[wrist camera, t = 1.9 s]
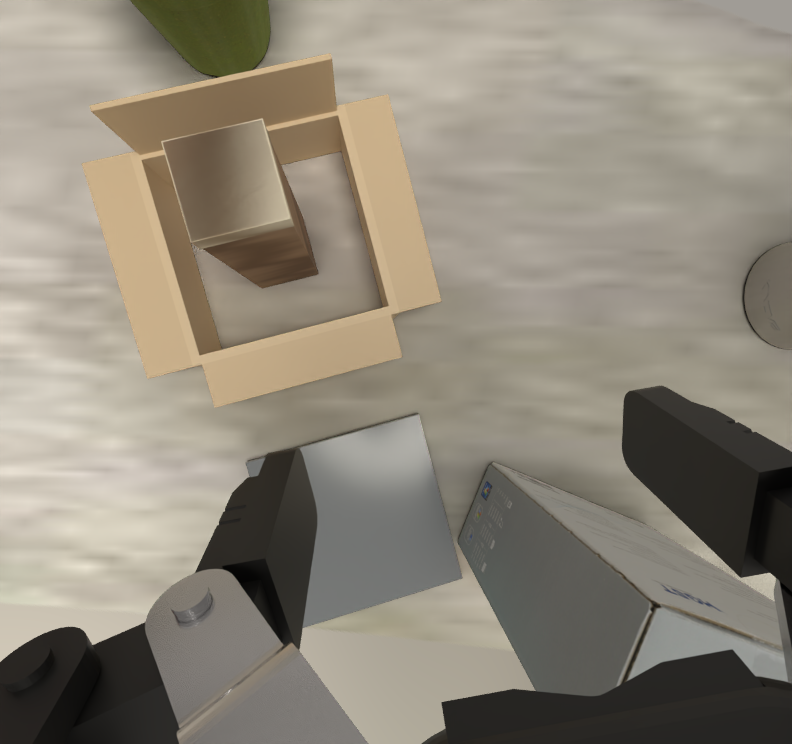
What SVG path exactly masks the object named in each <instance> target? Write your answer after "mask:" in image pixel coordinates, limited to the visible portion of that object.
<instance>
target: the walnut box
mask: <svg viewBox="0 0 792 744" xmlns="http://www.w3.org/2000/svg"><path fill="white" fill-rule="evenodd" d="M161 143H162V146H163V150H164V153H165V156H166V160H167V163H168V167H169V170H170V173H171V177H172V180H173V184H174V187H175V190H176V194H177V197H178V201H179V204H180V208H181V211H182V214H183V218H184V221H185V225H186V228H187V231H188V235H189V238H190V242H191V243H192V244H194V245H195V246H197V247H198V248H200V249H204V250H205V251H207V252H208V253H210V254H211V255H213V256H214V257H216V258H217V259H219V260H220V261H222V262H223V263H225V264H226V265H228V266H229V267H231V268H232V269H234V270H235V271H237V272H238V273H240V274H241V275H243V276H244V277H246V278H247V279H249V280H250V281H252V282H253V283H255V284H256V285H258V286H259V287H261V288H266V287H270V286H274V285H278V284H282V283H286V282H290V281H294V280H297V279H301V278H305V277H309V276H313V275H317V274H318V270H317V267H316V263H315V260H314V256H313V252H312V249H311V245H310V241H309V238H308V234H307V231H306V227H305V223H304V220H303V217H302V214H301V212H300V209H299V207H298V205H297V202H296V200H295V198H294V195H293V193H292V190H291V188H290V186H289V183H288V181H287V179H286V176H285V174H284V171H283V169H282V167H281V164H280V162H279V160H278V157H277V155H276V152H275V150H274V148H273V145H272V143H271V140H270V137H269V133H268V130H267V128H266V126H265V123H264V121H263V118H262V119H258V120H254V121H249V122H245V123H240V124H236V125H231V126H227V127H222V128H218V129H214V130H209V131H205V132H200V133H196V134H191V135H187V136H182V137H178V138H173V139H169V140H165V141H161Z"/></svg>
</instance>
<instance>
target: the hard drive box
mask: <svg viewBox="0 0 792 744" xmlns="http://www.w3.org/2000/svg"><path fill="white" fill-rule="evenodd" d="M458 544H459V546H460V548H461V550H462V552H463V554H464V556H465V557H466V559H467V561H468V563H469V565H470V567H471V569H472V571H473V573H474V575H475V577H476V579H477V581H478V582H479V584H480V586H481V588H482V590H483V592H484V594H485V596H486V598H487V599H488V601H489V603H490V605H491V607H492V609H493V611H494V613H495V614H496V616H497V618H498V620H499V622H500V624H501V626H502V628H503V630H504V632H505V634H506V635H507V637H508V639H509V641H510V643H511V645H512V647H513V649H514V651H515V653H516V654H517V656H518V658H519V660H520V662H521V664H522V666H523V668H524V669H525V671H526V673H527V675H528V677H529V679H530V681H531V683H532V685H533V687H534V688H535V690H536V691H539V692H550V693H560V694H571V695H582V696H598V695H602V694H604V693H606V692H608V691H610V690H612V689H614V688H615V687H617V686H619V685H621V684H623V683H624V682H626V681H628V680H630V679H632V678H634V677H635V676H637V675H639V674H641V673H643V672H644V671H646V670H648V669H650V668H652V667H653V666H655V665H657V664H659V663H661V662H665V661H670V660H676V659H681V658H687V657H692V656H698V655H703V654H709V653H714V652H720V651H725V650H730V649H733V650H734V651H735V653H736V654H737V655H738V656H739V657H740V659H741V660H742V661H743V662H744V663H745V664H746V666H747V667H748V668H749V669H750V670H751V672H752V673H753V674H754V675H755V676H761V677H766V678H771V679H777V680H782V681H786V682H788V678H787V671H786V665H785V659H784V653H783V647H782V641H781V635H780V629H779V623H778V616H777V610H776V604H775V602H774V601H772V600H771V599H769V598H767V597H766V596H764V595H762V594H761V593H759V592H757V591H756V590H754V589H752V588H751V587H749V586H747V585H746V584H744V583H742V582H741V581H739V580H738V579H736V578H734V577H733V576H731V575H729V574H728V573H726V572H724V571H723V570H721V569H719V568H718V567H716V566H714V565H713V564H711V563H709V562H708V561H706V560H704V559H703V558H701V557H699V556H698V555H696V554H694V553H693V552H691V551H689V550H688V549H686V548H684V547H683V546H681V545H679V544H678V543H676V542H675V541H673V540H671V539H670V538H668V537H666V536H665V535H663V534H661V533H660V532H658V531H656V530H655V529H653V528H651V527H649V526H647V525H645V524H643V523H641V522H638V521H636V520H633V519H631V518H628V517H625V516H623V515H621V514H619V513H616V512H614V511H611V510H609V509H606V508H604V507H601V506H599V505H596V504H594V503H592V502H589V501H587V500H585V499H582V498H580V497H578V496H575V495H573V494H570V493H568V492H565V491H563V490H561V489H558V488H556V487H553V486H551V485H549V484H546V483H544V482H541V481H539V480H537V479H534V478H532V477H530V476H527V475H525V474H522V473H520V472H517V471H515V470H512V469H510V468H507V467H505V466H502V465H500V464H497V463H495V462H493V463H492V465H489V466H488V469H487V471H486V473H485V476H484V478H483V480H482V483H481V485H480V488H479V490H478V493H477V495H476V497H475V500H474V502H473V505H472V507H471V510H470V512H469V515H468V517H467V520H466V522H465V525H464V527H463V530H462V532H461V535H460V537H459V540H458Z"/></svg>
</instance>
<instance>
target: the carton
mask: <svg viewBox="0 0 792 744" xmlns="http://www.w3.org/2000/svg"><path fill="white" fill-rule="evenodd" d="M89 106H90V109H91V112H93V113H94V114H95V115H96V116H97V117H98V118H99V119H100V120H101V121H102V122H104V123H105V124H106V125H107V126H108V127H109V128H110V129H111V130H112V131H114V132H115V133H116V134H117V135H118V136H119V137H120V138H121V139H122V140H124V141H125V142H126V143H127V144H128V145H129V146H130V147H131V148H132V149H134V150H135V152H130V153H126V154H121V155H117V156H112V157H108V158H104V159H99V160H95V161H90V162H86V163H82V166H83V169H84V173H85V176H86V179H87V183H88V186H89V189H90V192H91V196H92V199H93V202H94V205H95V209H96V212H97V215H98V219H99V222H100V225H101V228H102V232H103V235H104V238H105V241H106V245H107V248H108V251H109V254H110V258H111V261H112V264H113V268H114V271H115V274H116V277H117V281H118V284H119V287H120V290H121V294H122V297H123V300H124V304H125V307H126V310H127V313H128V317H129V320H130V323H131V326H132V330H133V333H134V336H135V339H136V343H137V346H138V349H139V353H140V356H141V359H142V362H143V366H144V369H145V372H146V375H147V379H149V378H153V377H157V376H161V375H165V374H168V373H172V372H176V371H180V370H184V369H187V368H191V367H196V366H203V369H204V373H205V376H206V379H207V383H208V386H209V390H210V393H211V396H212V400H213V403H214V406H215V408H216V407H220V406H223V405H227V404H231V403H234V402H238V401H242V400H246V399H249V398H253V397H257V396H260V395H264V394H268V393H271V392H275V391H279V390H283V389H286V388H290V387H294V386H297V385H301V384H305V383H308V382H312V381H316V380H319V379H323V378H327V377H331V376H334V375H338V374H342V373H345V372H349V371H353V370H356V369H360V368H364V367H368V366H371V365H375V364H379V363H382V362H386V361H390V360H393V359H397V358H401V357H402V353H401V350H400V346H399V342H398V338H397V335H396V331H395V327H394V323H393V320H392V319H394V318H395V317H396V316H397V315H398V314H399V313H400V312H404V311H408V310H412V309H416V308H419V307H423V306H427V305H431V304H435V303H438V302H441V297H440V294H439V290H438V286H437V282H436V278H435V274H434V270H433V266H432V263H431V259H430V255H429V251H428V247H427V243H426V239H425V235H424V232H423V228H422V224H421V220H420V216H419V212H418V208H417V205H416V201H415V197H414V193H413V189H412V185H411V181H410V177H409V174H408V170H407V166H406V162H405V158H404V154H403V150H402V147H401V143H400V139H399V135H398V131H397V127H396V123H395V119H394V116H393V112H392V108H391V104H390V100H389V96H388V94H387V95H383V96H378V97H374V98H370V99H365V100H361V101H356V102H352V103H347V104H343V105H339V106H336V97H335V86H334V76H333V65H332V57H331V54H330V53H329V54H325V55H320V56H316V57H311V58H306V59H302V60H297V61H292V62H288V63H283V64H279V65H274V66H269V67H265V68H260V69H255V70H251V71H246V72H242V73H237V74H232V75H228V76H223V77H219V78H214V79H209V80H205V81H200V82H195V83H191V84H186V85H182V86H177V87H172V88H168V89H163V90H158V91H154V92H149V93H145V94H140V95H135V96H131V97H126V98H122V99H117V100H112V101H108V102H103V103H98V104H94V105H89ZM262 118H263V121H264V123H265V126H266V128H267V130H268V133H269V137H270V140H271V143H272V145H273V148H274V150H275V152H276V155H277V157H278V160H279V162H280V164H281V165H283V164H287V163H292V162H296V161H300V160H305V159H309V158H313V157H317V156H322V155H326V154H330V153H335V152H339V151H342V155H343V159H344V163H345V166H346V170H347V174H348V178H349V181H350V185H351V189H352V192H353V196H354V200H355V204H356V207H357V211H358V215H359V219H360V222H361V226H362V230H363V234H364V237H365V241H366V245H367V249H368V252H369V256H370V260H371V264H372V267H373V271H374V275H375V279H376V282H377V286H378V290H379V293H380V297H381V301H382V305H383V308H380V309H376V310H372V311H368V312H364V313H360V314H357V315H353V316H349V317H345V318H341V319H337V320H334V321H330V322H326V323H322V324H318V325H315V326H311V327H307V328H303V329H299V330H295V331H292V332H288V333H284V334H280V335H276V336H272V337H269V338H265V339H261V340H257V341H253V342H249V343H246V344H242V345H238V346H234V347H230V348H226V349H223V350H222V348H221V345H220V342H219V338H218V335H217V331H216V328H215V325H214V321H213V318H212V314H211V311H210V308H209V304H208V301H207V297H206V294H205V291H204V287H203V284H202V280H201V277H200V273H199V270H198V267H197V263H196V260H195V256H194V253H193V250H192V246H191V243H190V239H189V236H188V233H187V229H186V226H185V222H184V219H183V216H182V212H181V209H180V205H179V202H178V198H177V195H176V192H175V187H174V184H173V180H172V177H171V173H170V170H169V167H168V163H167V160H166V156H165V153H164V150H163V146H162V143H161V141H165V140H169V139H173V138H178V137H182V136H187V135H191V134H196V133H200V132H205V131H209V130H214V129H218V128H222V127H227V126H231V125H236V124H240V123H245V122H249V121H254V120H258V119H262Z"/></svg>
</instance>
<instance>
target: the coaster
mask: <svg viewBox="0 0 792 744" xmlns="http://www.w3.org/2000/svg"><path fill="white" fill-rule="evenodd" d="M296 448H299V449H300V450H301V452H302V455H303V458H304V461H305V465H306V469H307V472H308V476H309V480H310V484H311V487H312V491H313V495H314V498H315V502H316V508H317V532H316V539H315V546H314V553H313V560H312V567H311V573H310V580H309V587H308V594H307V601H306V608H305V614H304V621H303V628H304V627H307V626H311V625H314V624H317V623H320V622H324V621H327V620H330V619H333V618H336V617H340V616H343V615H346V614H349V613H353V612H356V611H359V610H362V609H365V608H369V607H372V606H375V605H378V604H381V603H385V602H388V601H391V600H394V599H398V598H401V597H404V596H407V595H410V594H414V593H417V592H420V591H423V590H426V589H430V588H433V587H436V586H439V585H443V584H446V583H449V582H452V581H455V580H459V579H462V574H461V571H460V567H459V563H458V559H457V555H456V552H455V548H454V544H453V540H452V537H451V533H450V529H449V525H448V522H447V518H446V514H445V510H444V507H443V503H442V499H441V495H440V492H439V488H438V484H437V480H436V477H435V473H434V469H433V465H432V462H431V458H430V454H429V450H428V447H427V443H426V439H425V435H424V432H423V428H422V424H421V420H420V417H419V414H418V413H417V414H414V415H410V416H407V417H403V418H399V419H396V420H392V421H389V422H385V423H382V424H378V425H375V426H371V427H367V428H364V429H360V430H357V431H353V432H350V433H346V434H342V435H339V436H335V437H332V438H328V439H325V440H321V441H318V442H314V443H310V444H307V445H303V446H300V447H296ZM296 448H293V449H296ZM289 450H290V449H289ZM265 457H266V456H264V457H261V458H257V459H253V460H250V461H247V462H246V466H247V469H248V472H249V476H250V477H254V476H258V475H259V472H260V470H261V467H262V465H263V462H264V460H265Z"/></svg>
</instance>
